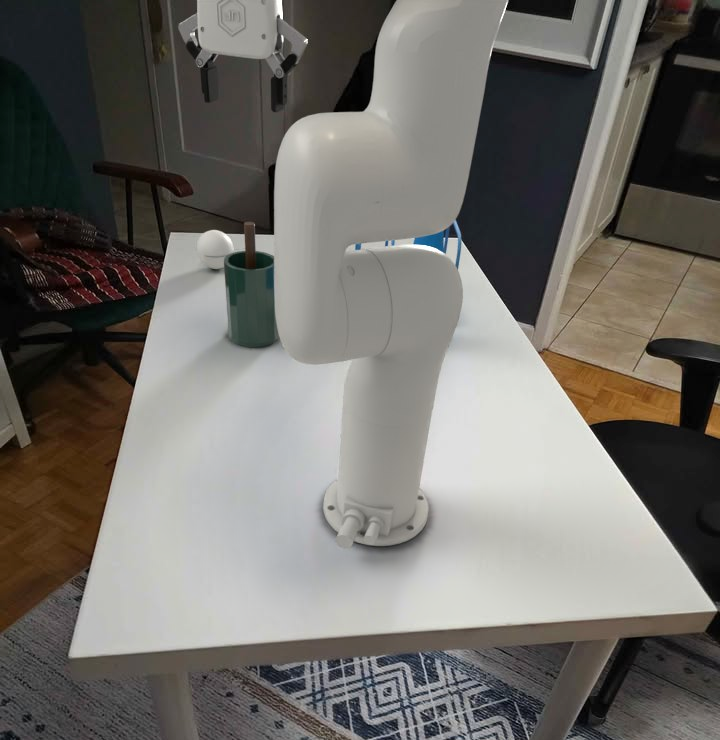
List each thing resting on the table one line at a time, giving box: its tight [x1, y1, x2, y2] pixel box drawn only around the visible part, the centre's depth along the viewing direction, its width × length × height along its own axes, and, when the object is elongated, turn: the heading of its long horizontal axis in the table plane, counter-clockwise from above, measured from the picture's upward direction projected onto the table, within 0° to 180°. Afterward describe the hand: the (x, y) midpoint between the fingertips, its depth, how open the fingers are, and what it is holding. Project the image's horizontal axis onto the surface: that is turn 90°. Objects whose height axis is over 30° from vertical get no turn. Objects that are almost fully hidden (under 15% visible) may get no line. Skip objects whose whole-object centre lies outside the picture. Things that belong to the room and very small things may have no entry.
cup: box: [223, 250, 279, 348], centre depth 105 cm, size 8×8×13 cm
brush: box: [243, 221, 257, 269], centre depth 104 cm, size 4×4×18 cm
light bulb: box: [195, 229, 245, 270], centre depth 128 cm, size 10×7×7 cm
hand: (244, 105), depth 88 cm, fingers open, 9 cm apart
